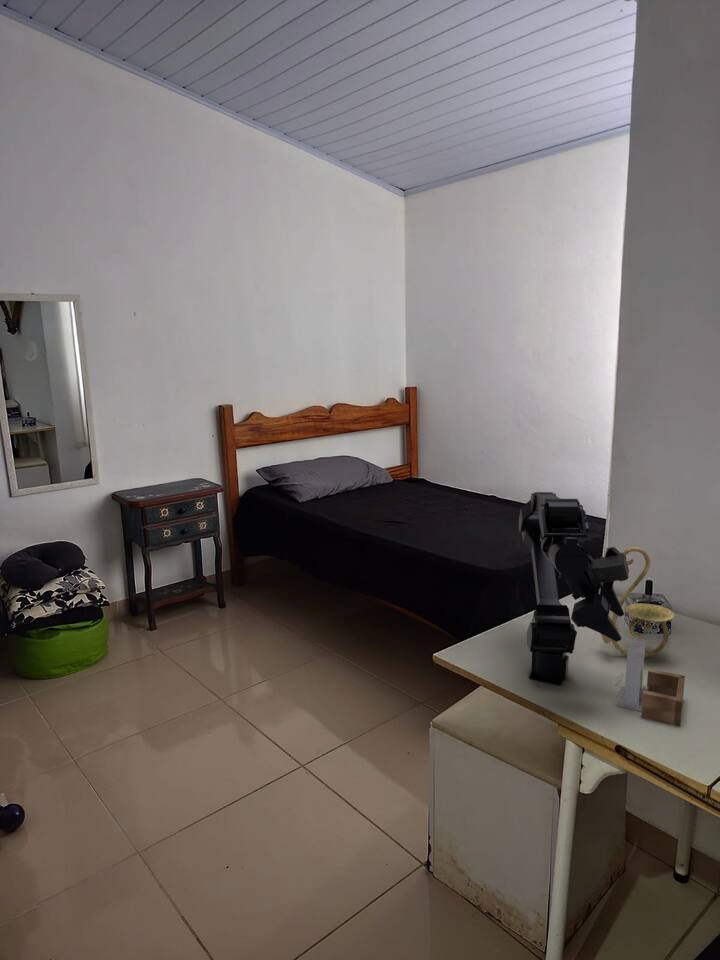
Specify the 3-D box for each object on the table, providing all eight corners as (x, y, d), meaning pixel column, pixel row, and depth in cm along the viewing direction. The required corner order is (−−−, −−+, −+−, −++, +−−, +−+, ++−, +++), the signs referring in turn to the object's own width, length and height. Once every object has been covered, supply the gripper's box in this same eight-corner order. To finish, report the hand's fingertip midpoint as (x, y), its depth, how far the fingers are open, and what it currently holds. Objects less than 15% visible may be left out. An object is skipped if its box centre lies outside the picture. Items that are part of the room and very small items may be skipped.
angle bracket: (616, 705, 120) (620, 650, 118) (620, 691, 125) (624, 638, 123) (645, 712, 118) (649, 656, 115) (648, 697, 123) (652, 643, 121)
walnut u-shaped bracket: (641, 718, 116) (643, 693, 115) (646, 692, 125) (648, 668, 124) (680, 727, 113) (682, 701, 112) (682, 700, 122) (685, 675, 121)
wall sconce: (610, 667, 135) (617, 553, 130) (596, 647, 144) (602, 540, 140) (678, 668, 134) (687, 554, 130) (660, 648, 143) (668, 540, 139)
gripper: (602, 562, 108) (659, 635, 108) (610, 522, 124) (660, 585, 124) (548, 591, 114) (602, 661, 114) (562, 549, 130) (610, 610, 130)
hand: (620, 627), depth 120 cm, fingers open, 9 cm apart
